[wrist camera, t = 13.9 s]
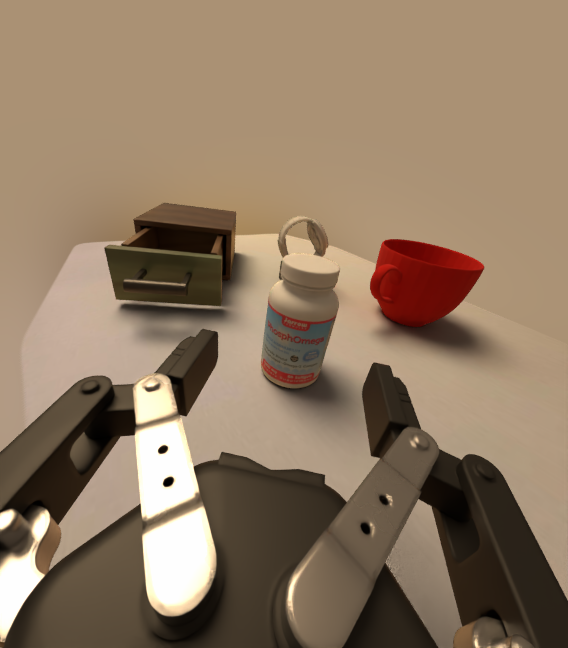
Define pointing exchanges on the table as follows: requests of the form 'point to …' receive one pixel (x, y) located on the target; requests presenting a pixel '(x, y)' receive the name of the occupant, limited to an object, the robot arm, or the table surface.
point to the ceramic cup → (421, 281)
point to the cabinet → (194, 225)
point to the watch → (314, 232)
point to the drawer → (168, 266)
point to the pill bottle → (299, 320)
